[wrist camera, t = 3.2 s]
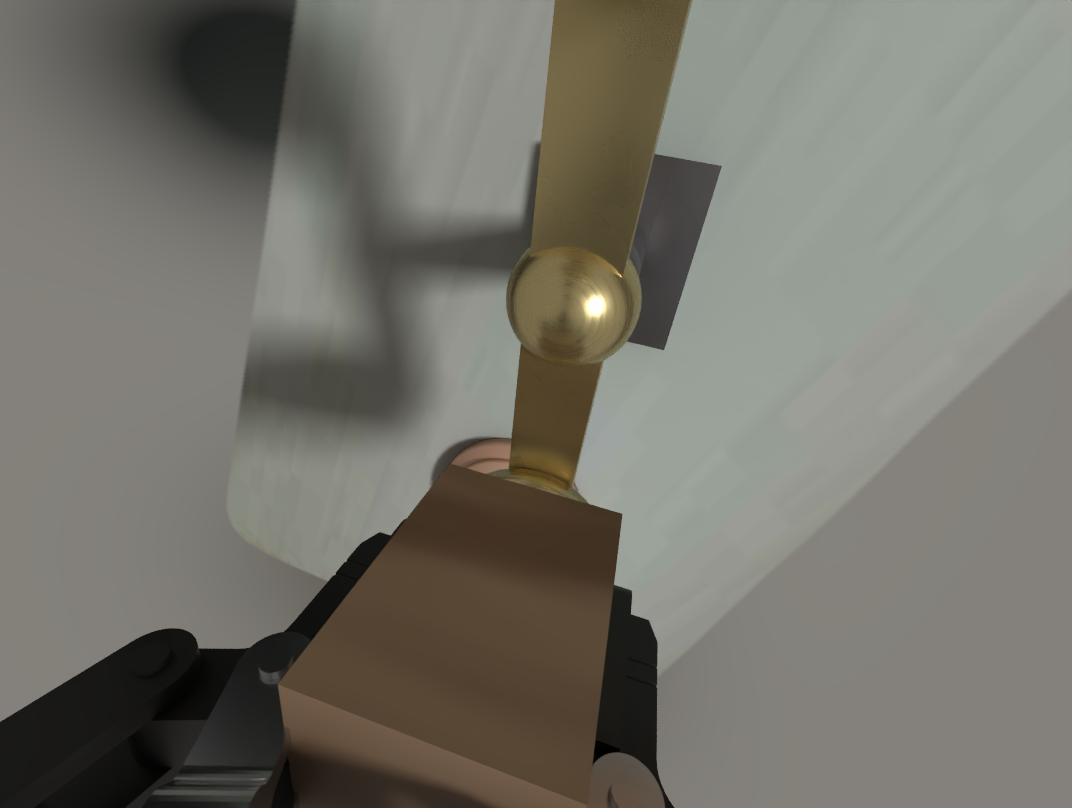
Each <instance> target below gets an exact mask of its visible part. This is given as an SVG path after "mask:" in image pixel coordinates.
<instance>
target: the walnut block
mask: <svg viewBox="0 0 1072 808" xmlns="http://www.w3.org/2000/svg"><path fill="white" fill-rule="evenodd" d="M621 521H622V514H621V513H617V512H614V511H610V510H607V509H604V508H600V507H597V506H593V505H590V504H587V503H583V502H580V501H576V500H573V499H570V498H566V497H563V496H559V495H556V494H553V493H549V492H546V491H542V490H539V489H536V488H532V487H529V486H525V485H522V484H519V483H515V482H512V481H508V480H505V479H502V478H498V477H495V476H491V475H488V474H485V473H481V472H478V471H474V470H471V469H468V468H464V467H461V466H457V465H454V464H451V463H450V464H449V465H448V466H447V468H446V469H445V470H444V471H443V473H442V474H441V475H440V477H439V478H438V479H437V480H436V482H435V483H434V484H433V486H432V487H431V488H430V489H429V491H428V492H427V493H426V495H425V496H424V497H423V498H422V500H421V501H420V502H419V504H418V505H417V506H416V507H415V509H414V510H413V511H412V513H411V514H410V515H409V516H408V518H407V519H406V520H405V522H404V523H403V524H402V525H401V527H400V528H399V529H398V531H397V532H396V533H395V534H394V536H393V537H392V538H391V540H390V541H389V542H388V543H387V545H386V546H385V547H384V549H383V550H382V551H381V552H380V554H379V555H378V556H377V558H376V559H375V560H374V561H373V563H372V564H371V565H370V567H369V568H368V569H367V570H366V572H365V573H364V574H363V576H362V577H361V578H360V579H359V581H358V582H357V583H356V585H355V586H354V587H353V588H352V590H351V591H350V592H349V594H348V595H347V596H346V597H345V599H344V600H343V601H342V603H341V604H340V605H339V606H338V608H337V609H336V610H335V612H334V613H333V614H332V615H331V617H330V618H329V619H328V621H327V622H326V623H325V624H324V626H323V627H322V628H321V630H320V631H319V632H318V633H317V635H316V636H315V637H314V639H313V640H312V641H311V642H310V644H309V645H308V646H307V648H306V649H305V650H304V651H303V653H302V654H301V655H300V657H299V658H298V659H297V660H296V662H295V663H294V664H293V666H292V667H291V668H290V669H289V671H288V672H287V673H286V675H285V676H284V677H283V678H282V680H281V681H280V682H279V684H278V690H279V696H280V703H281V710H282V717H283V724H284V727H287V728H289V729H290V736H291V744H292V745H291V748H290V751H289V753H288V759H289V766H290V773H291V780H292V787H293V791H296V792H298V796H299V803H300V806H299V808H587V806H588V797H589V789H590V781H591V772H592V764H593V756H594V747H595V739H596V730H597V722H598V714H599V705H600V697H601V688H602V680H603V672H604V663H605V655H606V646H607V638H608V630H609V621H610V613H611V604H612V596H613V588H614V579H615V571H616V563H617V554H618V546H619V537H620V529H621Z"/></svg>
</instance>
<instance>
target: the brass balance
mask: <svg viewBox="0 0 1072 808" xmlns="http://www.w3.org/2000/svg"><path fill="white" fill-rule="evenodd" d="M691 4H692V0H555V6H554V16H553V27H552V37H551V47H550V57H549V67H548V77H547V87H546V97H545V107H544V117H543V127H542V137H541V147H540V158H539V168H538V178H537V188H536V198H535V208H534V218H533V228H532V238H531V247H529V248H528V249H527V250H526V251H525V252H524V253H523V255H522V256H521V257H520V259H519V260H518V261H517V263H516V265H515V267H514V269H513V271H512V273H511V276H510V279H509V282H508V286H507V293H506V307H507V313H508V318H509V321H510V325H511V327H512V329H513V331H514V333H515V335H516V337H517V338H518V340H519V341H520V342H521V349H520V359H519V369H518V379H517V389H516V399H515V409H514V419H513V429H512V440H511V450H510V460H509V469H501V470H497V471H493V472H490V473H487V474H488V475H491V476H495V477H498V478H502V479H505V480H508V481H512V482H515V483H519V484H522V485H525V486H529V487H532V488H536V489H539V490H542V491H546V492H549V493H553V494H556V495H559V496H563V497H566V498H570V499H573V500H576V501H580V502H583V503H587V504H588V502H587V501H586V500H585V499H584V498H583V497H582V496H581V495H580V494H579V493H578V492H577V491H576V490H574V489H573V484H574V480H575V476H576V472H577V468H578V464H579V460H580V456H581V452H582V447H583V443H584V439H585V435H586V431H587V427H588V423H589V419H590V415H591V411H592V407H593V403H594V399H595V395H596V390H597V386H598V382H599V378H600V374H601V370H602V366H603V362H604V360H606V359H607V358H609V357H610V356H612V355H613V354H614V353H616V352H617V351H618V350H619V349H620V348H621V347H622V346H623V345H624V344H625V343H626V342H627V341H628V342H632V343H636V344H641V345H645V346H649V347H653V348H657V349H661V350H664V348H665V345H666V342H667V339H668V336H669V332H670V329H671V326H672V323H673V320H674V316H675V313H676V310H677V307H678V304H679V301H680V297H681V294H682V291H683V288H684V285H685V281H686V278H687V275H688V272H689V269H690V266H691V262H692V259H693V256H694V253H695V250H696V246H697V243H698V240H699V237H700V234H701V231H702V227H703V224H704V221H705V218H706V215H707V211H708V208H709V205H710V202H711V199H712V195H713V192H714V189H715V186H716V183H717V180H718V176H719V173H720V170H721V167H722V166H718V165H712V164H707V163H701V162H696V161H690V160H684V159H679V158H673V157H668V156H662V155H656V154H655V150H656V146H657V142H658V138H659V134H660V130H661V126H662V122H663V118H664V114H665V110H666V106H667V102H668V97H669V93H670V89H671V85H672V81H673V77H674V73H675V69H676V65H677V61H678V57H679V53H680V49H681V45H682V40H683V36H684V32H685V28H686V24H687V20H688V16H689V12H690V8H691Z"/></svg>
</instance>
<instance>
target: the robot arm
mask: <svg viewBox="0 0 1072 808" xmlns="http://www.w3.org/2000/svg"><path fill="white" fill-rule="evenodd" d="M405 520H406V519H405ZM405 520H403V521H402V522H401V523H400V525H399V526H398V527H397V529H396V530H395V531H394V532H393V534H392V535H391V536H390V535H387V534H384V533H381V532H379V533H377V534H376V535H374V536H372V537H371V538H369V539H367V540H366V541H364V542H362V543H361V544H360V545H359V546H358V547H357V548H356V550H355V551H354V552H353V553H352V554H351V555H350V557H349V558H348V559H347V562H344V564H343V565H342V566H341V567H340V568H339V569H338V571H337V572H336V575H335V576H334V575H333V577H332V578H331V579H330V580H329V581H328V582H327V584H326V585H325V586H324V587H323V588H322V590H321V591H320V592H319V593H318V594H317V595H316V596H315V598H314V599H313V600H312V601H311V602H310V604H309V605H308V606H307V607H306V608H305V609H304V611H303V612H302V613H301V614H300V615H299V616H298V618H297V619H296V620H295V621H294V622H293V623H292V624H291V626H290V627H289V628H288V629H287V630H285V631H284V632H280V633H276V634H272V635H270V636H268V637H265V638H264V639H262V640H260V641H258V642H256V643H255V644H254V645H252V646H251V647H250V648H246V649H199V648H198V644H197V641H196V638H195V637H194V636H193V635H192V634H191V633H190V632H188V631H185V630H182V629H174V628H173V629H171V628H170V629H163V630H158V631H154V632H151V633H149V634H146V635H144V636H142V637H139V638H138V639H136V640H134V641H132V642H131V643H129V644H128V645H126V646H124V647H122V648H121V649H119V650H117V651H116V652H114V653H113V654H111V655H109V656H108V657H106V658H104V659H103V660H101V661H99V662H98V663H96V664H94V665H93V666H91V667H90V668H88V669H86V670H85V671H83V672H81V673H80V674H78V675H77V676H75V677H73V678H72V679H70V680H68V681H67V682H65V683H63V684H62V685H60V686H58V687H57V688H55V689H54V690H52V691H50V692H49V693H47V694H45V695H44V696H42V697H40V698H39V699H37V700H35V701H34V702H32V703H31V704H29V705H27V706H26V707H24V708H23V709H21V710H19V711H17V712H16V713H14V714H13V715H11V716H10V717H8V718H6V719H5V720H3V721H1V722H0V808H299V806H300V803H299V796H298V792H296V791H293V787H292V780H291V773H290V766H289V759H288V753H289V751H290V748H291V745H292V744H291V736H290V729H289V728H287V727H284V724H283V717H282V710H281V703H280V696H279V690H278V684H279V682H280V681H281V680H282V678H283V677H284V676H285V675H286V673H287V672H288V671H289V669H290V668H291V667H292V666H293V664H294V663H295V662H296V660H297V659H298V658H299V657H300V655H301V654H302V653H303V651H304V650H305V649H306V648H307V646H308V645H309V644H310V642H311V641H312V640H313V639H314V637H315V636H316V635H317V633H318V632H319V631H320V630H321V628H322V627H323V626H324V624H325V623H326V622H327V621H328V619H329V618H330V617H331V615H332V614H333V613H334V612H335V610H336V609H337V608H338V606H339V605H340V604H341V603H342V601H343V600H344V599H345V597H346V596H347V595H348V594H349V592H350V591H351V590H352V588H353V587H354V586H355V585H356V583H357V582H358V581H359V579H360V578H361V577H362V576H363V574H364V573H365V572H366V570H367V569H368V568H369V567H370V565H371V564H372V563H373V561H374V560H375V559H376V558H377V556H378V555H379V554H380V552H381V551H382V550H383V549H384V547H385V546H386V545H387V543H388V542H389V541H390V540H391V538H392V537H393V536H394V534H395V533H396V532H397V531H398V529H399V528H400V527H401V525H402V524H403V523H404V522H405ZM631 603H632V591H631V590H628V589H625V588H622V587H619V586H616V585H614V588H613V596H612V604H611V613H610V621H609V630H608V638H607V646H606V655H605V663H604V672H603V680H602V688H601V697H600V705H599V714H598V722H597V730H596V739H595V747H594V756H593V764H592V772H591V781H590V789H589V797H588V806H587V808H674V807H673V805H672V804H671V802H670V801H669V799H668V797H667V796H666V794H665V792H664V789H663V787H662V785H661V782H660V779H659V775H658V770H657V760H656V752H657V751H656V750H657V688H656V685H657V669H656V668H657V640H656V637H655V635H654V632H653V630H652V627H651V625H650V622H649V620H646V619H643V618H640V617H637V616H634V615H631Z"/></svg>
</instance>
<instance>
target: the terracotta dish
mask: <svg viewBox="0 0 1072 808" xmlns="http://www.w3.org/2000/svg"><path fill="white" fill-rule="evenodd" d="M511 440H512V439H506V438H494V439H487V440H483V441H480V442H477V443H474V444H472V445H470V446H468V447H467V448H465V449H464V450H463V451H462V452H460V453H459V454H458V455H457V457H456V458H455V459H454V460H453V462H452V463H451V464H454V465H457V466H461V467H464V468H468V469H471V470H474V471H478V472H481V473H485V474H487V473H490V472H493V471H497V470H501V469H509V460H510V450H511ZM573 489H574V490H576V491H577V492H578V490H577V487H576V485H575V483H574V484H573Z"/></svg>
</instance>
